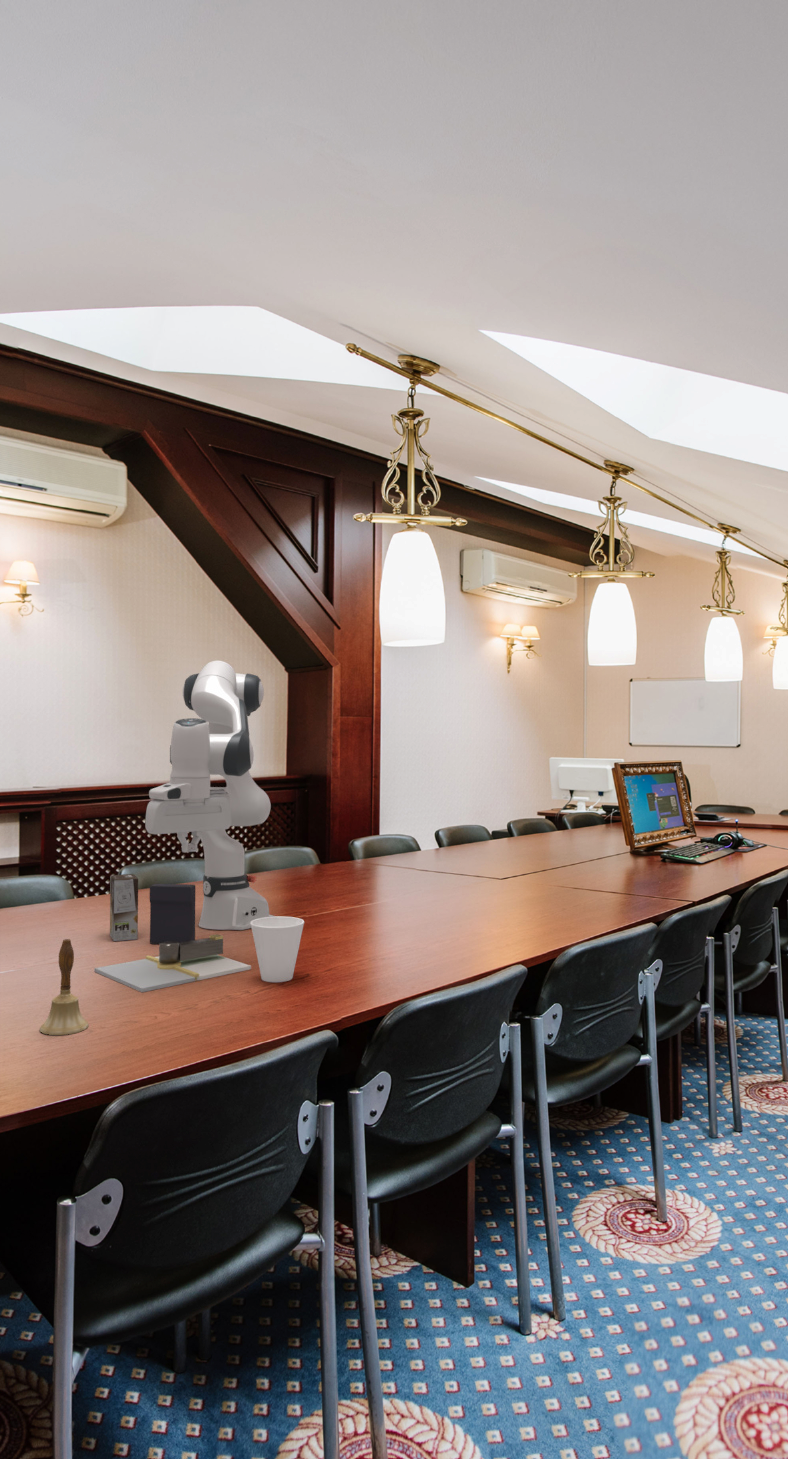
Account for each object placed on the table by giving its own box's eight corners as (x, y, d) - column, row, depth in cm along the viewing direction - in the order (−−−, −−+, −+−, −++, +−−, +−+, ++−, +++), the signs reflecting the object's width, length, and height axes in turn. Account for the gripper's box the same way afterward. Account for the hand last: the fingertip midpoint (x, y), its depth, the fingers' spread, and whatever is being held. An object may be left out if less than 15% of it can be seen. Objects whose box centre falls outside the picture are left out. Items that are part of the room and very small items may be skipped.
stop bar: (164, 964, 194) (164, 946, 194) (155, 960, 197) (155, 942, 197) (224, 954, 204) (224, 936, 204) (215, 950, 207) (215, 933, 207)
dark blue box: (196, 942, 225) (196, 884, 225) (190, 945, 220) (191, 886, 221) (155, 940, 226) (155, 883, 226) (148, 944, 221) (149, 885, 222)
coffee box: (138, 939, 227) (139, 878, 227) (113, 942, 224) (113, 879, 224) (133, 932, 235) (134, 873, 235) (108, 934, 232) (109, 874, 233)
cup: (294, 987, 184) (294, 928, 184) (241, 983, 186) (241, 925, 186) (310, 972, 195) (311, 917, 195) (260, 969, 198) (261, 915, 198)
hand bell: (94, 1020, 161) (95, 934, 161) (80, 1035, 153) (81, 945, 153) (49, 1021, 161) (50, 934, 161) (32, 1036, 152) (33, 945, 153)
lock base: (199, 952, 214) (199, 934, 214) (250, 969, 198) (251, 949, 198) (94, 971, 195) (94, 952, 195) (141, 992, 179) (142, 971, 179)
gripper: (222, 788, 205) (221, 847, 204) (142, 791, 190) (141, 854, 190) (237, 789, 200) (236, 849, 200) (156, 792, 186) (155, 857, 186)
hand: (189, 851), depth 195 cm, fingers closed
